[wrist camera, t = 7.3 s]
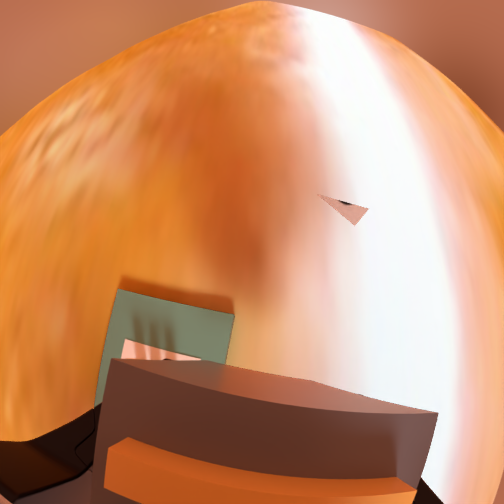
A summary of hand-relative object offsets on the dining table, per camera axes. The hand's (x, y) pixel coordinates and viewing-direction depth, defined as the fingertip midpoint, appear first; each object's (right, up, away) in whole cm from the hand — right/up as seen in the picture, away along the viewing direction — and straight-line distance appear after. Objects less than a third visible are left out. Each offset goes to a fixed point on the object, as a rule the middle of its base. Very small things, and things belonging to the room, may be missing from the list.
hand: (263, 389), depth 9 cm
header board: (-8, -5, +12) cm, 15 cm away
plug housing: (0, -4, +6) cm, 7 cm away
